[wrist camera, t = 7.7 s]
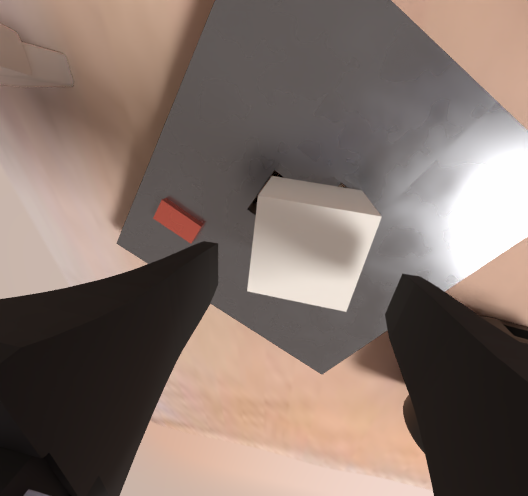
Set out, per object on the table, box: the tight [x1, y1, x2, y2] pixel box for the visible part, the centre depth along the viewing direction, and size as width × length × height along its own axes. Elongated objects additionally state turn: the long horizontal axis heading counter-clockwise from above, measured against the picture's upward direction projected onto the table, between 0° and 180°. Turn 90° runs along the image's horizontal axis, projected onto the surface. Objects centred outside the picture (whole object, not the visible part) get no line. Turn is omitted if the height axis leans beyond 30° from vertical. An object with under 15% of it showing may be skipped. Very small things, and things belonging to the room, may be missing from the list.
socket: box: [117, 0, 528, 374], centre depth 16 cm, size 20×20×2 cm
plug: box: [247, 176, 382, 312], centre depth 14 cm, size 5×5×6 cm
